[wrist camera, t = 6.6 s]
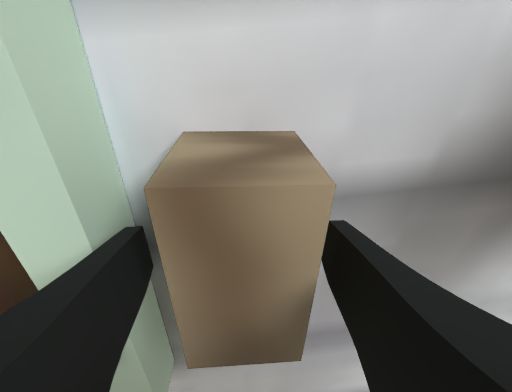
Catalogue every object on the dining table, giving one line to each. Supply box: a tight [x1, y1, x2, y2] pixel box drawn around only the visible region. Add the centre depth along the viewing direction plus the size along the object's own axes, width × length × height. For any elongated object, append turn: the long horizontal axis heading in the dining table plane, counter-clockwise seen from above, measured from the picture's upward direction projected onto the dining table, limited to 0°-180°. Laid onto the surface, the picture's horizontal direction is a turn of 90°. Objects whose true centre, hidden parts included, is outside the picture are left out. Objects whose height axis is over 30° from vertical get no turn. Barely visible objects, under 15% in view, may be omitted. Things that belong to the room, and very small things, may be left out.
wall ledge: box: [0, 0, 174, 392], centre depth 9 cm, size 2×26×5 cm, turn 179°
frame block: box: [144, 131, 336, 369], centre depth 10 cm, size 5×8×5 cm, turn 179°
